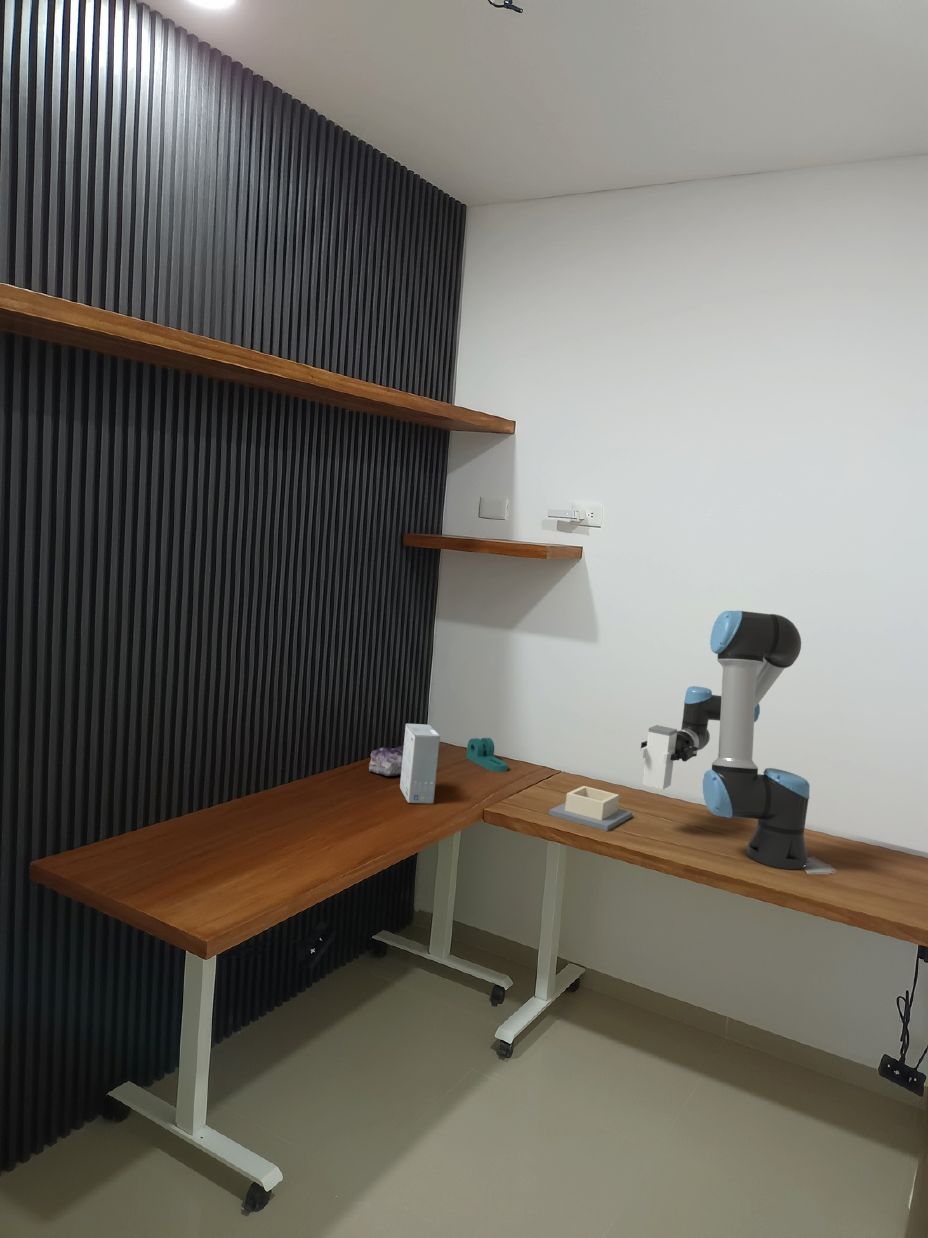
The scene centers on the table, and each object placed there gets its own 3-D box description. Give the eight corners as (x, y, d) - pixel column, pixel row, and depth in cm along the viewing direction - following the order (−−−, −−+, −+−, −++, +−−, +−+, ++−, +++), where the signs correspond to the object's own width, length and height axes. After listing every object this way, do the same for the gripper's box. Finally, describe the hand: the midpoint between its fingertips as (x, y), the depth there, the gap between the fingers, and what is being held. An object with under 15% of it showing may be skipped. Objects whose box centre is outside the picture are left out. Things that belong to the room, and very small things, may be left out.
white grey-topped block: (670, 785, 251) (677, 729, 249) (662, 789, 246) (669, 732, 244) (650, 780, 254) (656, 725, 252) (642, 784, 249) (648, 728, 247)
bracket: (466, 758, 312) (468, 736, 311) (482, 757, 315) (484, 735, 314) (494, 773, 296) (496, 749, 296) (511, 772, 300) (513, 748, 299)
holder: (631, 817, 262) (634, 795, 262) (607, 831, 247) (609, 808, 246) (576, 802, 272) (578, 781, 271) (548, 815, 257) (551, 793, 256)
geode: (415, 765, 297) (421, 736, 295) (434, 779, 288) (440, 750, 286) (362, 767, 285) (367, 738, 283) (380, 782, 276) (386, 752, 274)
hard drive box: (434, 804, 256) (440, 736, 254) (407, 804, 254) (414, 735, 252) (423, 788, 271) (429, 723, 269) (398, 787, 269) (404, 722, 267)
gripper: (712, 763, 259) (685, 777, 240) (650, 749, 269) (619, 762, 250) (715, 737, 259) (688, 750, 239) (652, 724, 269) (622, 735, 249)
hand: (653, 756), depth 245 cm, fingers closed on white grey-topped block, 6 cm apart
